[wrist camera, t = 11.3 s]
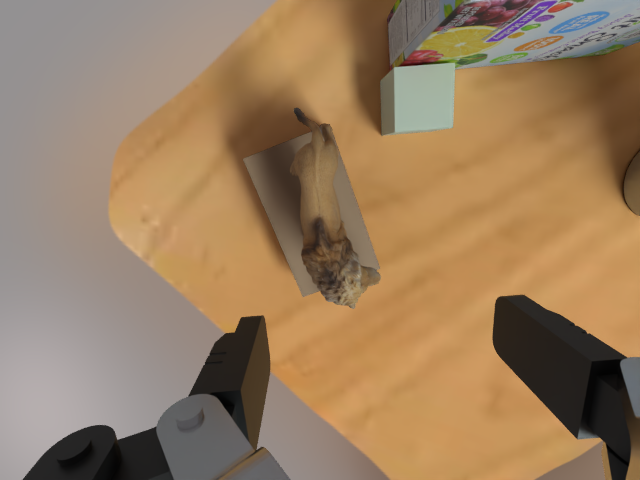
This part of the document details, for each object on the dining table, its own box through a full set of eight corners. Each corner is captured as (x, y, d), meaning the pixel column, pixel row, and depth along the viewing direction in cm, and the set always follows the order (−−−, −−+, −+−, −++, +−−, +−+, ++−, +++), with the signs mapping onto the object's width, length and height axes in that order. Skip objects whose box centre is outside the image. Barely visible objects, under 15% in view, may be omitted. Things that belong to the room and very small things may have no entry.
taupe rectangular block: (326, 128, 31) (329, 124, 27) (370, 252, 35) (380, 268, 30) (252, 158, 32) (242, 159, 27) (303, 277, 35) (302, 297, 31)
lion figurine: (367, 260, 30) (393, 306, 21) (314, 275, 30) (318, 327, 22) (324, 99, 26) (334, 76, 17) (263, 119, 26) (242, 105, 17)
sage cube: (431, 77, 30) (455, 62, 25) (430, 131, 32) (453, 127, 27) (380, 81, 30) (394, 67, 25) (381, 135, 32) (394, 132, 27)
